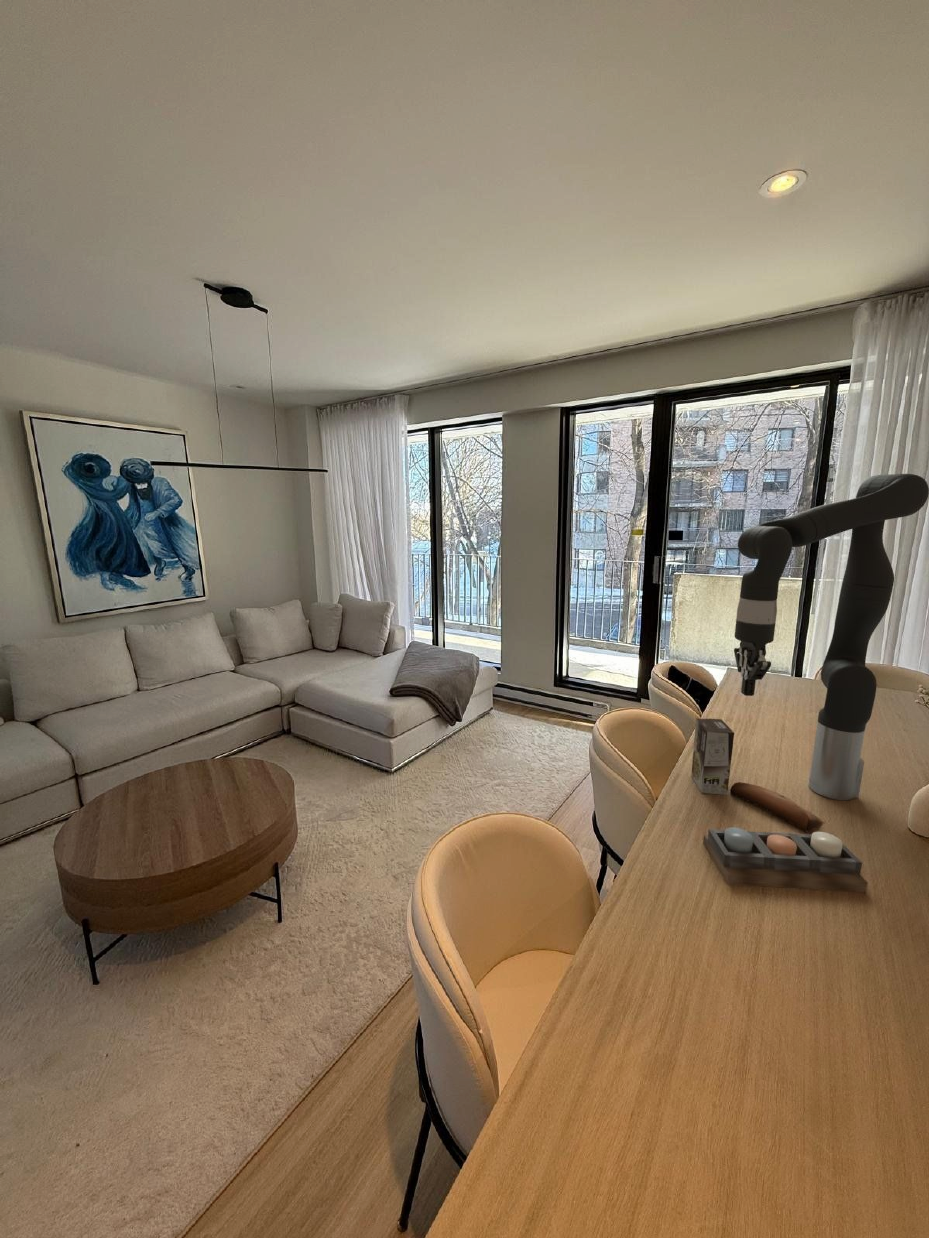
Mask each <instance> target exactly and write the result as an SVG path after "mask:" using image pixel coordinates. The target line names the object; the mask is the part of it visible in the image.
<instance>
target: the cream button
mask: <svg viewBox="0 0 929 1238" xmlns="http://www.w3.org/2000/svg"><path fill="white" fill-rule="evenodd" d="M811 835H812V836H811V843H810V848H811V849H812V850H813V851H814V853H815V854H816V855H817V856H818V857H831V858H840V857H841V851H842V845H843V844H844V843H843V842H842V840H841V839H840V838H838V836H836V835H833V834H830V833H829V832H824V831H814V832H812V834H811ZM835 836H836V837H835Z"/></svg>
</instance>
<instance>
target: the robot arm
mask: <svg viewBox="0 0 929 1238" xmlns="http://www.w3.org/2000/svg"><path fill="white" fill-rule="evenodd" d="M928 498H929V484H928V482H927V481H926V480H925V478H923V477H922V476H920V475H917V474H913V473H893V474H877V475H876V474H875V475H872V476H869V477H867V478H866V479H865V480H863V482H861V484H860V485H859V487H858V490H857V493H856V494H855V498H852V499H845V500H841V501H840V500H839V501H836V502H831V503H826V504H822V505H819V506H816V507H812V508H809V509H806V510H803V511H800V512H797V513H796V514H793V515H791V516H789V517H784V518H781V519H775V520H771V521H767V522H763V523H759V524H755V525H753V526H751V527H749V528H747V529H745V530H744V531H742V533H741V534H740V536H739V538H738V541H737V547H738V551H739V553H741V555H742V556H744V557H745V558H748V559H752V560H757V562H756V565H755V567H754V569H753V570H749V571H747V572H746V571H745V573H744V574H743V575H742V578H741V584H740V593H739V599H738V604H737V610H736V617H735V627H734V628H735V629H734V638H735V639H736V640H737V641H740V643H739V647H734V648H733V654H734V659H735V662H736V668H737V672H738V673H740V677H741V679H742V680H741V688H740V693H741V694H742V695H744V696H747V697H748V696H749V697H753V696H754V695H755V688H756V681H758V680H760V681H762V680H763V679H764V677H765V675H766V674H767V673H768V671H769V670H770V669H771V666H772V662H771V661H769V660H766V659H767V658H766V654H767V650H766V649H767V648H766V645H767V644H771V643H773V642H774V638H775V630H776V621H777V614H778V605H777V604H778V595H779V594H778V593H779V587H780V585H779V584H780V580H781V578H782V576H783V573H784V571H785V569H786V566H787V564H788V562H789V560H790V557H791V554H792V550H793V548H801V547H804V546H808V545H811V544H813V543H816V542H819V541H821V540H824V539H827V538H829V537H832V536H835V535H839V534H841V533H843V532H846V531H850V530H851V536H850V544H849V549H848V556H847V559H846V560H847V561H846V566H845V570H844V573H843V578H842V582H841V586H840V592H839V597H838V603H837V608H836V615H835V620H834V628H833V633H832V637H831V639H830V644H829V647H828V650H827V653H826V655H825V657H824V660H823V662H822V667H821V670H820V680H821V683H822V685H823V686H824V687H825V688H826V694H825V701H824V706H823V708H821V709H820V710H819V712H818V714H817V723H816V730H815V736H814V743H813V744H814V745H813V752H812V758H811V763H810V764H811V766H810V772H809V777H808V787H809V788H810V790H811V791H812V792H814V793H816V794H818V795H820V796H822V797H825V798H829V799H831V800H837V801H850V800H851V801H852V799H854V798H856V799H857V798H858V799H859V797H860V792H861V785H862V778H863V774H864V766H865V761H864V759H862V758H861V757H862V750H863V745H864V739H865V731H866V726H867V723H868V722H869V721H870V719H871V716H872V713H873V708H874V705H875V699H876V694H877V687H878V686H877V685H878V684H877V677H876V675H875V674H874V672H873V671H872V670H870V669H869V668H868V667H867V666H866V660H867V659H866V658H867V652H868V647H869V643H870V640H871V637H872V636H873V634H874V632H875V630H876V628H878V626H879V624H880V622H881V621H882V620H883V618H884V616H885V614H886V612H887V611H888V608H889V604H890V602H891V598H892V593H893V590H894V583H895V575H894V569H893V567H892V564H891V561H890V559H889V557H888V554H887V552H886V549H885V545H884V539H883V537H884V527H885V522H886V521H888V520H893V519H899V518H904V517H905V518H906V517H909V516H912V515H913V514H916V513H917V512H919V511H920V510H921V509H922V508H923V507H924V506H925V505H926V503H927V501H928Z"/></svg>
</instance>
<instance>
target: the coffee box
mask: <svg viewBox="0 0 929 1238" xmlns="http://www.w3.org/2000/svg"><path fill="white" fill-rule="evenodd" d="M694 726H695V729H694V737H693V738H694V739H693V752H692V764H691V773H690V775H691V777H692V780H693V781H694V783H695V784H696V786H697V788H698V789H699V791H700V792H701V793H702V794H710V795H711V794H714V795H722V796H723V795H725V796H727V795H728V793H729V783H730V774H731V766H732V755H733V750H734V749H733V747H734V738H735V734H736V733H735V732H734V731H733V730H732V728H730V727H729V725H728V724H727V723H725V721H724V720H723V719H721V718H698V717H697V718H695V725H694Z"/></svg>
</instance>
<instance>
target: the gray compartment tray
mask: <svg viewBox="0 0 929 1238" xmlns="http://www.w3.org/2000/svg"><path fill="white" fill-rule="evenodd" d="M725 830H726V829H708V832H707V833H708V834H703V837H702V843H703V846H704V847H705V849H706V851H707V853H708V854H709V856H710V858H711V859H712V861H713V863H714V865H715V866H716V868H717V869H718V871H719V873H720V874H721V876H722V878H723V879H724V881H725V884H726V885H738V886H739V885H740V886H741V885H742V886H754V887H769V888H771V887H772V888H773V887H775V888H786V889H787V888H791V889H804V890H805V889H806V890H807V889H808V890H820V891H821V890H825V891H837V892H838V891H840V892H842V891H843V892H857V893H867V890H868V889H867V888H868V884H869V883H868V881H867V880H866V879H865V878H864V877H863V876H862V875H861V872H862V865H863V862H862V861H861V860H860V859H859V858H858V857H857V855H855V854H854V852H852V851H851V850H850V849H849V848H848V847H847V846H846V845H845V844H844V843H843V845H842V851H841V857H840V858H831V857H818V856H817V855H816V854H815V853H814V851H813V850H812V849H811V848H810V843H811V836H812V834H809V833H789V832H788V833H786V832H769V831H768V832H766V831H750V830H749V831H747V830H746V831H747V832H749V833H750V834H751V835H752V836H753V845H752V853H738V852H728V851H727V849H726V848H725V846H724V836H725ZM770 835H781V836H784V837H787V838H789V839H791V840H792V841H794V842H795V843H796V845H797V849H796V856H794V855H775V854H772V852H771V851H770V850H769V849H768V847H767V838H768V836H770ZM834 836H835V837H837V836H836V835H834Z"/></svg>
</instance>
